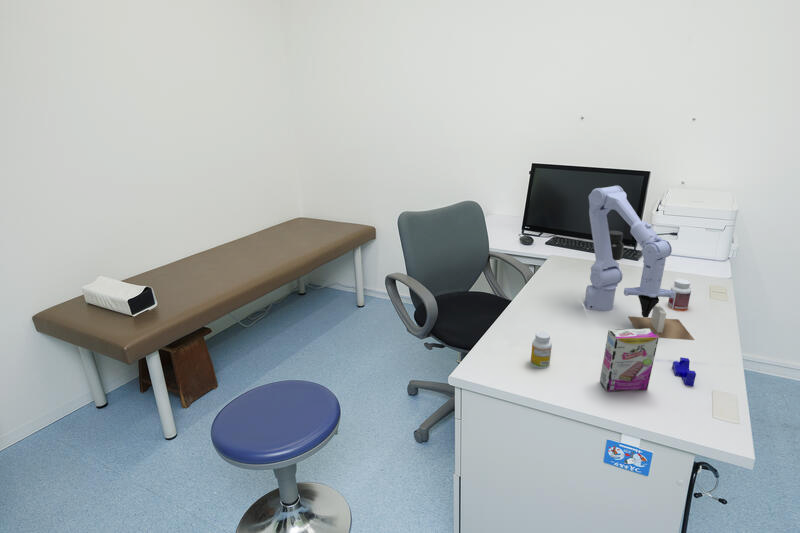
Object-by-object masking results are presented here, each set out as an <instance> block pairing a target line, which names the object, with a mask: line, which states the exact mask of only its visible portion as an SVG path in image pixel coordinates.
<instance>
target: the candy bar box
mask: <svg viewBox="0 0 800 533" xmlns="http://www.w3.org/2000/svg"><path fill="white" fill-rule="evenodd" d="M606 336H607V337H606V343H605V348H604V356H603V361H602V367H601V372H600V378H599V382H600V384H601V385H602V386H603V388H604V389H605V391H606V392H621V391H623V392H624V391H648V388H649V384H650V379H651V376H652V375H651V374H652V369H653V366H654V365H653V364H654V360H655V357H656V353H657V352H656V351H657V347H658V343H659V339H660V338H659V337H658V336H657V335H656V334H655V333H654V332H652V330H650V329H635V328H629V329H628V328H626V329H625V328H624V329H622V328H621V329H620V328H619V329H618V328H617V329H616V328H615V329H608V331H607V335H606Z"/></svg>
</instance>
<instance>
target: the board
mask: <svg viewBox="0 0 800 533" xmlns="http://www.w3.org/2000/svg"><path fill="white" fill-rule="evenodd" d="M627 317H628V319H629V321H630V323H631V324H632V327H633V329H650V330H652V332H654V333H655V334H656V335H657V336H658V337H659V339H670V340H671V339H672V340H674V339H675V340H685V341H687V340H688V341H695V339H694V337H693V336H692V335H691V333H690V332H689V331H688V330H687V328H686V327H685V326H684V324H682V322H681V321H680V319H677V318H665V323H664V328H663V333H659V332H656V330H655V329H654V327H653V325H652V324H651V317H643V316H627Z"/></svg>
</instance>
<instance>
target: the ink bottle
mask: <svg viewBox="0 0 800 533" xmlns="http://www.w3.org/2000/svg"><path fill="white" fill-rule="evenodd" d="M609 236H610V243H611V250H612V257H613V259H614V260H615V261H616V260H621V259H623V253H624V248H625V245H624V243H623V237H624V233H623V232H622V231H619V230H609Z"/></svg>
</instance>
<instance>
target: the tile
mask: <svg viewBox="0 0 800 533" xmlns="http://www.w3.org/2000/svg"><path fill="white" fill-rule="evenodd" d="M651 311H652V312H651V317H650V318H651V324H652V325H653V327H654V329H655V330H656V332H659V333H663V328H664V323H665V319H667V318H666V317H667V312H666V311H665V309H664V308H663V307H662V306H661V304H660V303H657V304H656V305H655V306H654V307H653V309H652V310H651Z"/></svg>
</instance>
